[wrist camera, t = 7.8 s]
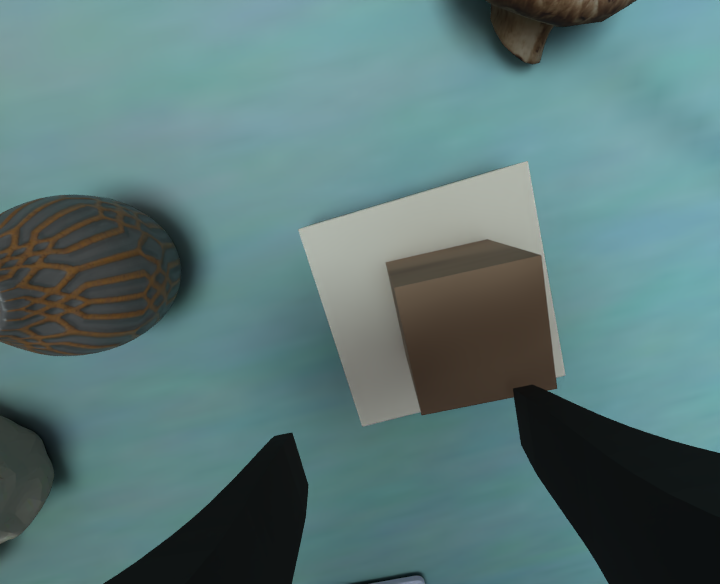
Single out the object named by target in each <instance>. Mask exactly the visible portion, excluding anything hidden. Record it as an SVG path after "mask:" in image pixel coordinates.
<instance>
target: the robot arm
mask: <svg viewBox="0 0 720 584" xmlns="http://www.w3.org/2000/svg"><path fill="white" fill-rule="evenodd" d="M513 394H514V400H515V407H516V414H517V420H518V427H519V434H520V440H521V445H522V447H523V449H524V451H525V453H526V455H527V457H528V459H529V461H530V463H531V465H532V466H533V468H534V470H535V472H536V474H537V475H538V477H539V478H540V480H541V481H542V483H543V484H544V486H545V487H546V489H547V490H548V492H549V493H550V495H551V496H552V497H553V499H554V500H555V502H556V503H557V505H558V506H559V508H560V509H561V510H562V512H563V513H564V515H565V516H566V518H567V519H568V521H569V522H570V523H571V525H572V526H573V528H574V529H575V531H576V532H577V533H578V535H579V536H580V538H581V539H582V541H583V542H584V544H585V545H586V547H587V548H588V550H589V551H590V553H591V554H592V556H593V558H594V559H595V561H596V562H597V564H598V566H599V568H600V569H601V571H602V573H603V574H604V576H605V578H606V580H607V581H608V583H609V584H720V453H717V452H713V451H709V450H705V449H701V448H697V447H693V446H689V445H686V444H682V443H679V442H675V441H672V440H668V439H665V438H662V437H659V436H656V435H653V434H650V433H646V432H643V431H641V430H638V429H635V428H632V427H629V426H627V425H624V424H622V423H619V422H616V421H614V420H611V419H609V418H606V417H604V416H601V415H599V414H597V413H594V412H592V411H590V410H587V409H585V408H583V407H581V406H578V405H576V404H574V403H572V402H570V401H568V400H565V399H563V398H561V397H559V396H557V395H555V394H553V393H551V392H548V391H546V390H544V389H542V388H540V387H537V386H535V385H527V386H522V387H517V388H513ZM307 497H308V482H307V479H306V476H305V473H304V469H303V466H302V463H301V459H300V456H299V453H298V450H297V446H296V443H295V440H294V436H293V433H287V434H282V435H277V436H274V437H273V438H272V439H271V440H270V441H269V442H268V443H267V444H266V445H265V446H264V447H263V448H262V449H261V450H260V451H259V452H258V453H257V454H256V456H255V457H254V458H253V459H252V460H251V461H250V462H249V463H248V464H247V465H246V466H245V467H244V469H243V470H242V471H241V472H240V473H239V474H238V475H237V476H236V477H235V478H234V479H233V480H232V481H231V482H230V483H229V484H228V485H227V486H226V487H225V488H224V489H223V490H222V491H221V492H220V493H219V494H218V495H217V496H216V497H215V498H214V499H213V500H212V501H211V502H210V503H209V504H208V505H207V506H206V507H205V508H203V509H202V510H201V511H200V512H199V513H198V514H197V515H196V516H195V517H193V518H192V519H191V520H190V521H189V522H187V523H186V524H185V525H184V526H183V527H182V528H180V529H179V530H178V531H177V532H175V533H174V534H173V535H172V536H170V537H169V538H168V539H166V540H165V541H164V542H162V543H161V544H160V545H158V546H157V547H156V548H154V549H153V550H152V551H150V552H149V553H148V554H146V555H145V556H144V557H142V558H141V559H140V560H138V561H137V562H135V563H134V564H132V565H131V566H130V567H128V568H127V569H125V570H124V571H122V572H121V573H119V574H118V575H116V576H115V577H113V578H112V579H110V580H108V581H107V582H105V583H104V584H292V580H293V575H294V571H295V566H296V561H297V557H298V552H299V547H300V543H301V538H302V533H303V528H304V523H305V518H306V509H307ZM370 584H425V581H424V579H423V578H422V577H421V576H410V577H405V578H399V579H393V580H387V581H382V582H376V583H370Z"/></svg>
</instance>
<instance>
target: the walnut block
mask: <svg viewBox="0 0 720 584" xmlns="http://www.w3.org/2000/svg"><path fill="white" fill-rule="evenodd" d="M385 263H386V267H387V272H388V276H389V281H390V285H391V290H392V295H393V299H394V304H395V308H396V313H397V317H398V322H399V327H400V331H401V336H402V340H403V345H404V349H405V354H406V358H407V362H408V366H409V369H410V373H411V377H412V381H413V385H414V388H415V392H416V396H417V400H418V404H419V407H420V411H421V415H426V414H431V413H436V412H441V411H446V410H451V409H456V408H461V407H466V406H471V405H477V404H482V403H487V402H492V401H497V400H502V399H507V398H512V397H514V394H513V388H517V387H522V386H527V385H535V386H537V387H540V388H542V389H544V390H546V391H548V390H553V389H557V383H556V374H555V366H554V357H553V349H552V341H551V332H550V324H549V315H548V307H547V298H546V290H545V281H544V273H543V264H542V256H541V255H539V254H536V253H533V252H529V251H526V250H522V249H519V248H516V247H512V246H509V245H505V244H502V243H499V242H495V241H492V240H488V239H486V240H482V241H477V242H473V243H468V244H464V245H460V246H455V247H451V248H446V249H442V250H438V251H433V252H429V253H424V254H420V255H416V256H411V257H407V258H403V259H398V260H394V261H389V262H385Z"/></svg>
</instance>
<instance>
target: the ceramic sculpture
mask: <svg viewBox="0 0 720 584" xmlns="http://www.w3.org/2000/svg"><path fill="white" fill-rule="evenodd" d="M53 479H54V470H53V466H52V463H51V461H50V459H49V457H48V455H47V453H46V449H45V447H44V444H43V441H42V439H41V438H40V437H39V436H38V435H37V434H36V433H35V432H33V431H31V430H29V429H27V428H24V427H22V426H20V425H18V424H16V423H15V422H13V421H12V420H10V419H8V418H5V417H3V416H0V544H1V543H3V542H5V541H7V540H10V539H13V538H15V537H17V536H18V535H20V534H21V533H22V532H23V531H24V530H25V529H26V528H27V527H28V526H29V525H30V524H31V522H32V521H33V520H34V518H35V517H36V515H37V514H38V512H39V511H40V510H41V508H42V506H43V504H44V502H45V500H46V498H47V497H48V495H49V493H50V490H51V488H52V483H53Z"/></svg>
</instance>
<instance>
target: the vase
mask: <svg viewBox="0 0 720 584" xmlns="http://www.w3.org/2000/svg"><path fill="white" fill-rule="evenodd" d="M180 280H181V265H180V259H179V255H178V252H177V250H176V248H175V245H174V243H173V242H172V240H171V238H170V237H169V236H168V234H167V233H166V232H165V231H164V229H163V228H162V227H161V226H160V225H159V224H157V223H156V222H155V221H154V220H153V219H152V218H150V217H149V216H147V215H146V214H144V213H143V212H141V211H139V210H137V209H135V208H133V207H131V206H129V205H126V204H124V203H121V202H118V201H115V200H112V199H107V198H102V197H96V196H86V195H58V196H51V197H45V198H40V199H36V200H33V201H29V202H26V203H23V204H21V205H18V206H15V207H13V208H11V209H9V210H7V211H5V212H3V213H1V214H0V342H2V343H5V344H8V345H11V346H14V347H17V348H20V349H23V350H27V351H30V352H34V353H39V354H44V355H52V356H77V355H86V354H92V353H98V352H102V351H106V350H110V349H113V348H115V347H118V346H121V345H123V344H126V343H128V342H130V341H132V340H133V339H135V338H137V337H139V336H140V335H142V334H143V333H145V332H146V331H148V330H149V329H150V328H152V327H153V326H154V325H155V324H157V323H158V322H159V321H160V320H161V319H162V317H163V316H164V315H165V314H166V313H167V311H168V310H169V309H170V307H171V305H172V303H173V302H174V300H175V298H176V295H177V293H178V290H179V285H180Z"/></svg>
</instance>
